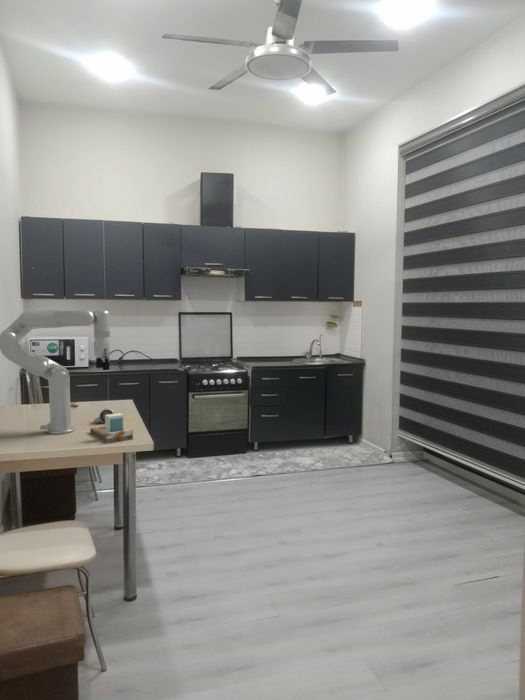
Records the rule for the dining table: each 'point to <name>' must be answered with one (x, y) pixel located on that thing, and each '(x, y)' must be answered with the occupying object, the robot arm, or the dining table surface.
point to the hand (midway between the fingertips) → (102, 368)
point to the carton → (114, 423)
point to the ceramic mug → (102, 415)
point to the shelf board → (112, 435)
